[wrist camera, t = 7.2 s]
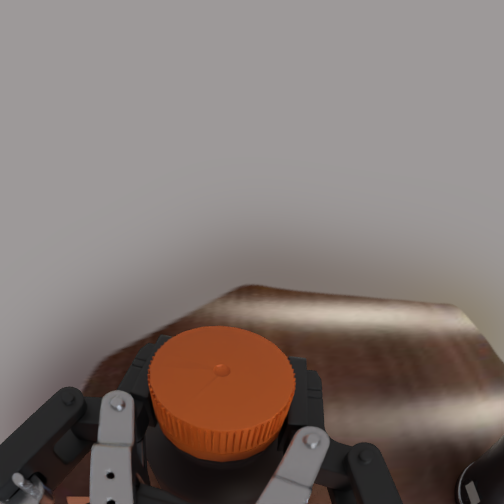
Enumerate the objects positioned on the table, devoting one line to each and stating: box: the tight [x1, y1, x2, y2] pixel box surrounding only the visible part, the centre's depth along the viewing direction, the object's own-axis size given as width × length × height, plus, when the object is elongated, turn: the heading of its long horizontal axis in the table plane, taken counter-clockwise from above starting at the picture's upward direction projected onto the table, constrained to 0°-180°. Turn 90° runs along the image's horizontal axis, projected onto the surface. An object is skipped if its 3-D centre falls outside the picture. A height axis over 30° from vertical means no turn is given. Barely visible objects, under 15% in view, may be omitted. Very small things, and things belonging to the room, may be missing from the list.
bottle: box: [145, 326, 296, 504], centre depth 13 cm, size 7×7×20 cm
